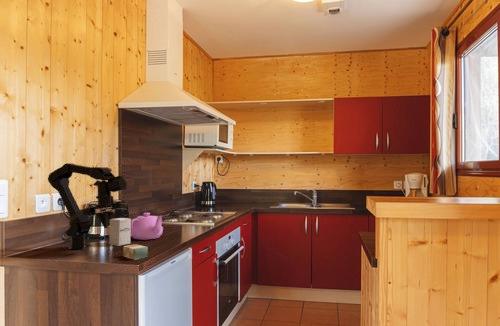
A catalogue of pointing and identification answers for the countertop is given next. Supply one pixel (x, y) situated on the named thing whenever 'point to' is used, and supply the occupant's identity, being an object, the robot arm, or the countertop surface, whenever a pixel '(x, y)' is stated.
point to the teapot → (146, 227)
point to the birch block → (135, 251)
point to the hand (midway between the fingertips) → (105, 228)
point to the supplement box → (120, 231)
